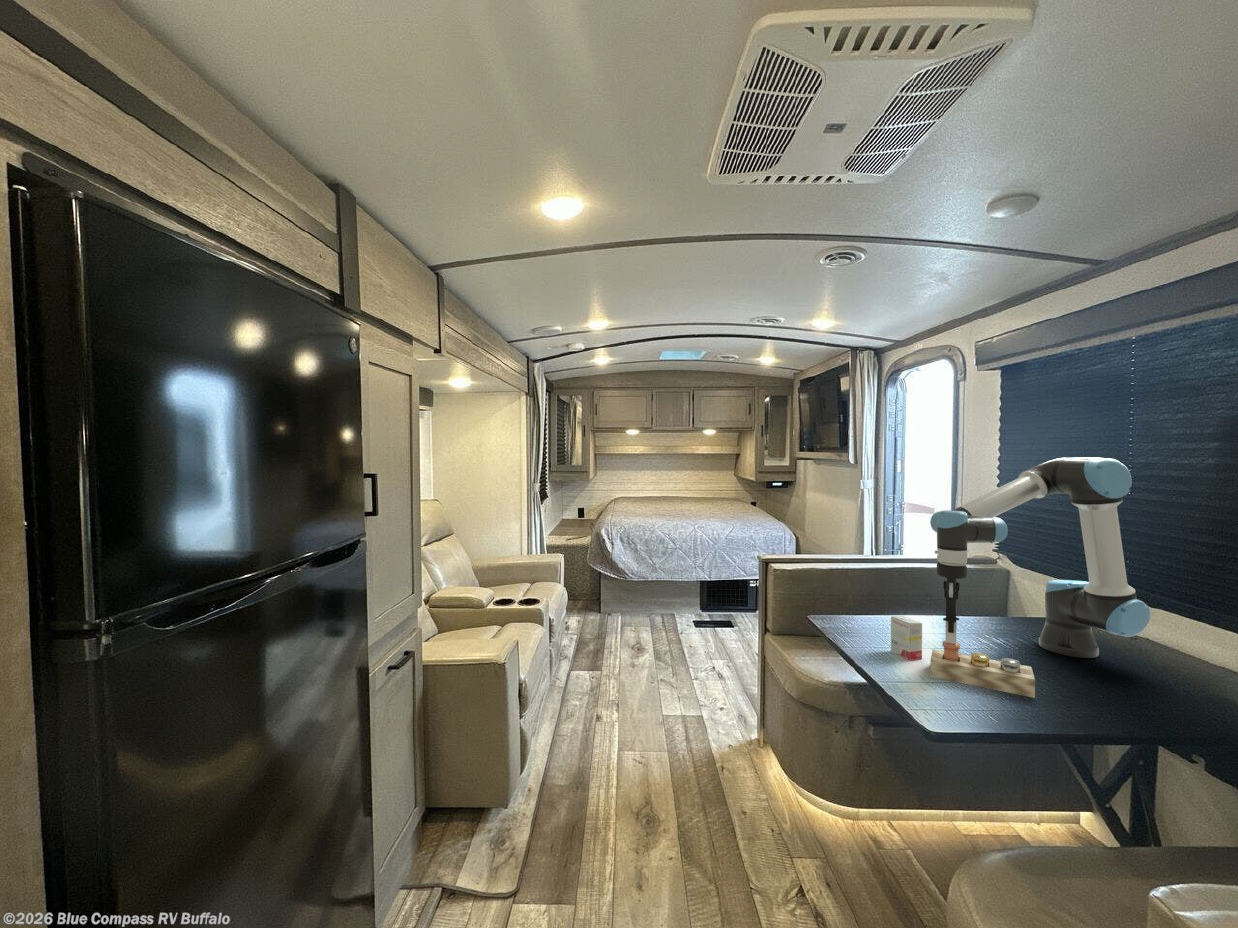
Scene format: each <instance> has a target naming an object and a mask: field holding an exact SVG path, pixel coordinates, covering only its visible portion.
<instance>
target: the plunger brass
mask: <svg viewBox="0 0 1238 928" xmlns="http://www.w3.org/2000/svg"><path fill="white" fill-rule="evenodd" d="M970 656H971V659H972V664H973V665H978V666H984V667H988V662H989V659H990V656H989V655H988V654H984V653H981V652H971V653H970Z"/></svg>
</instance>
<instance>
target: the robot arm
mask: <svg viewBox="0 0 1238 928" xmlns="http://www.w3.org/2000/svg"><path fill="white" fill-rule="evenodd" d="M1017 477H1018V478H1016V479H1014V480H1012V481H1010V482H1007V483H1005V484H1003V485H1001V486H999V487H997V488H995V489H993V490H991V491H989V492H987V493H985V494H983V495H981V496H979V497H977V498H974V499H972V500H970V501H968V502H966V503H964V504H963V505H962V504H961V505H960V506H958V507H955V508H954V509H952V510H940V511H936V512H934V513H933V514H932V515H931V517H930V528H931V529H932V530H933V531H934V532H935V533H936V547H937V548H936V550H934V554H937V555H936V561H938V562H937V563H936V574H937V576H939V577H942V578H945V579H946V580H944V581H943V583H942V584H943V585H942V587H943V590H944V593H943V594H944V596H943V597H944V598H945V617H942V620H943V621H945V638H944V639H945V640H944V641H945V642H947V643H952V644H956V642H957V634H958V633H957V627H958V626H957V625H958V624H957V623H958V622H957V621H960V617H957V615H958V613H957V600H958V599H959V591H960V582H957V579H959V580H962V579H963V580H964V579H966V578H967V577H968V566H967V565H966V564H968V544H971V543H972V544H974V543H980V544H981V543H983V544H986V543H988V544H989V543H990V544H993V543H1000V542H1003V541H1004V540H1005V539H1006V538H1007V536H1008V530H1009V529H1008V525H1007V523H1006V521H1004V520H1003V519H1002V518H1000V517H997V516H999V515H1001V514H1003V513H1005V512H1008V511H1010V510H1011V509H1013V508H1015V507H1018V506H1020V505H1022V504H1024V503H1026V502H1029V501H1031V500H1032V499H1043V498H1045V497H1047V496H1050V495H1062V494H1063V495H1069V496H1070V503H1071V504H1072V505H1073V506H1075V507H1076V508H1078V513H1079V520H1080V528H1081V534H1082V542H1083V546H1084V547H1083V548H1084V555H1085V561H1086V568H1087V570H1086V571H1087V576H1088V581H1085V580H1071V579H1053V580H1049V581H1047V582H1046V584H1045V592H1044V593H1045V599H1044V600H1045V623H1044V625H1043V628H1042V631H1041V633H1040V635H1039V637H1038V646H1040V647H1041V648H1042V649H1043V650H1046V651H1048V652H1052V653H1054V654H1055V653H1056V654H1059V655H1063V656H1065V657H1066V656H1067V657H1072V658H1073V657H1074V658H1078V659H1079V658H1082V659H1093V658H1098V657H1099V654H1100V649H1099V647H1098V646H1099V645H1098V644H1097V641H1096V639H1095V635H1094V633H1093V630H1092V629H1093V628H1094V629H1098V630H1101V631H1104V632H1107V633H1108V634H1112V635H1116V636H1121V637H1126V638H1129V637H1134V636H1137V635H1139V634H1141V632H1143V631H1144V630H1145V628H1147V627H1148V624H1149V623H1150V619H1151V611H1150V608H1149V606H1148V604H1146V603H1145V602H1144V601H1142V600H1140V599H1137V593H1136V589H1135V588H1134V587H1132V586H1131V585H1129V584H1128V579H1127V578H1128V577H1127V571H1126V565H1125V558H1124V550H1123V543H1122V542H1123V541H1122V535H1121V527H1120V521H1119V514H1118V506H1119V505H1120V504H1122V503H1123V500H1124V499H1123V497H1124V496H1127V495H1128V493H1129V492H1130V489H1131V488H1132V485H1133V483H1132V482H1133V480H1132V475H1131V472H1130V470H1129V469H1128V467H1127V466H1126V465H1125V464H1123V463H1122V462H1120V461H1119V460H1117V459H1115V458H1108V457H1107V458H1104V457H1099V456H1098V457H1060V458H1055V459H1052V460H1048V461H1046V462H1043V463H1040V464H1037V465H1035V466H1033V467H1031V468H1029V469H1027V470H1025V471H1022V472H1021V473H1020V474H1019V475H1018V476H1017Z"/></svg>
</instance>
